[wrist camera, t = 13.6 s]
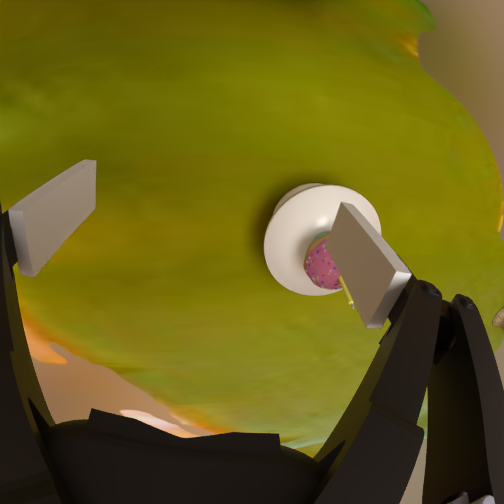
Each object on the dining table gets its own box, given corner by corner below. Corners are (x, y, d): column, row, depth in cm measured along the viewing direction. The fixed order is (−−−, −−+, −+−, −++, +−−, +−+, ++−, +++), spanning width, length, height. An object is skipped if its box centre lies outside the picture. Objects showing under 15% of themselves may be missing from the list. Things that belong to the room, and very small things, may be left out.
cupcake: (354, 263, 44) (385, 312, 34) (301, 275, 45) (320, 330, 34) (350, 212, 40) (388, 254, 30) (293, 225, 41) (314, 273, 30)
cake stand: (276, 157, 44) (285, 170, 37) (375, 188, 47) (398, 206, 40) (247, 257, 52) (250, 285, 45) (338, 274, 56) (352, 302, 48)
